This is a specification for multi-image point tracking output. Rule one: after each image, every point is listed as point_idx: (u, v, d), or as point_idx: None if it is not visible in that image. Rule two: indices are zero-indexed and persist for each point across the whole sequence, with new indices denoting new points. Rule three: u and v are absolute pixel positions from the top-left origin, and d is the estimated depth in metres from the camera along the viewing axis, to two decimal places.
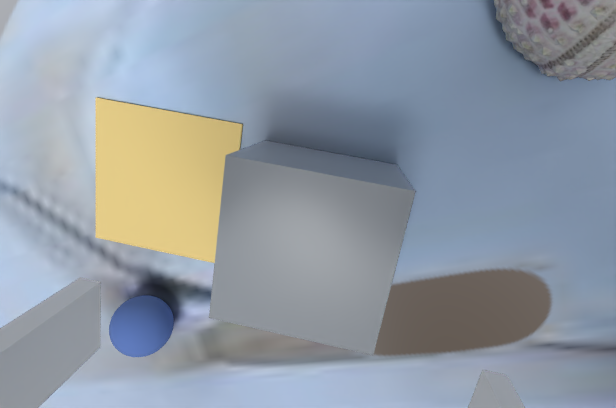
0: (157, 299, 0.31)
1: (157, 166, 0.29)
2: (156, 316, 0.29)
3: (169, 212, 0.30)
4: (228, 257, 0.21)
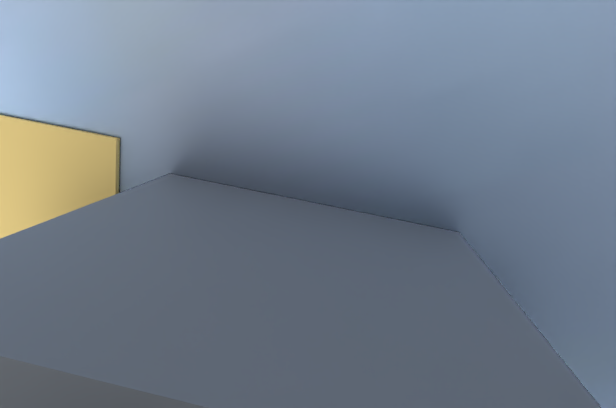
0: None
1: None
2: None
3: None
4: None
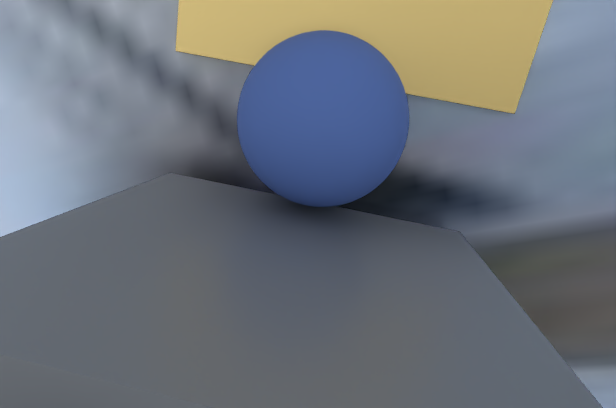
0: None
1: None
2: None
3: None
4: None
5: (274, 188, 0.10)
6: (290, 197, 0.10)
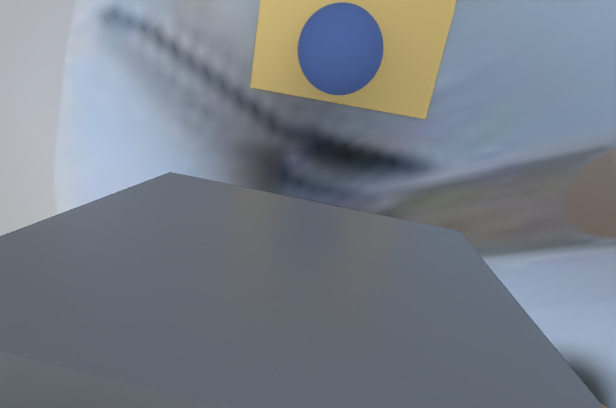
0: (348, 81, 0.20)
1: None
2: (362, 87, 0.22)
3: None
4: None
5: (327, 11, 0.19)
6: (335, 11, 0.19)
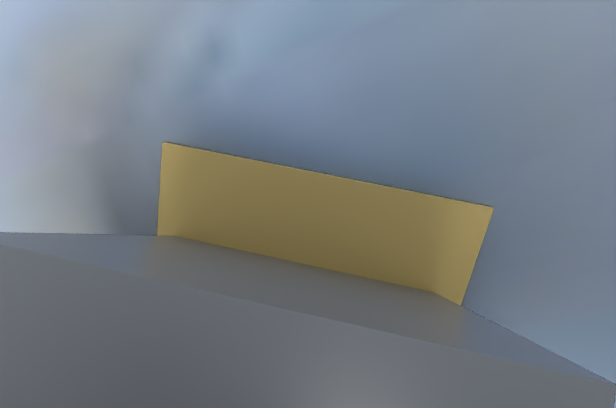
0: None
1: None
2: None
3: None
4: None
5: None
6: None
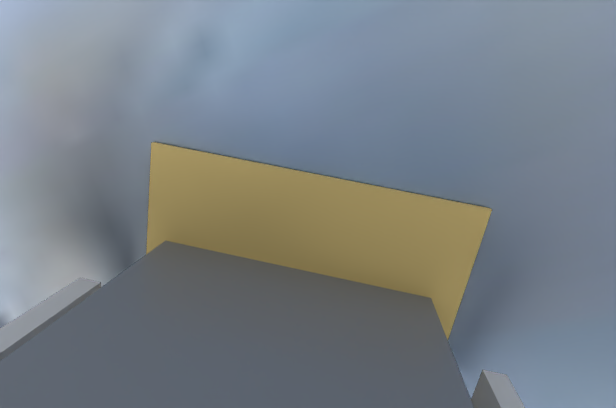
0: None
1: None
2: None
3: None
4: None
5: None
6: None
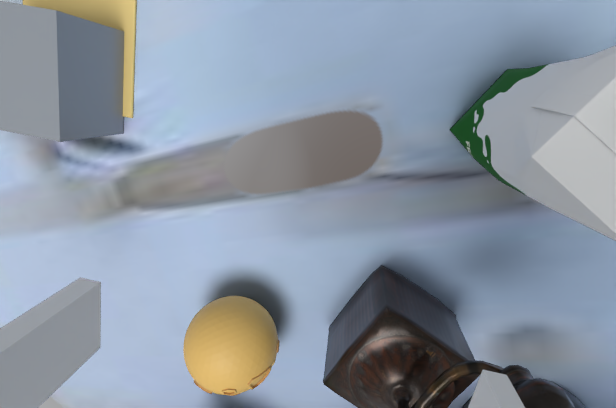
0: None
1: None
2: None
3: None
4: None
5: None
6: None
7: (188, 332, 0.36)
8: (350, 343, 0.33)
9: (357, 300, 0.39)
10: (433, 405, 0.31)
